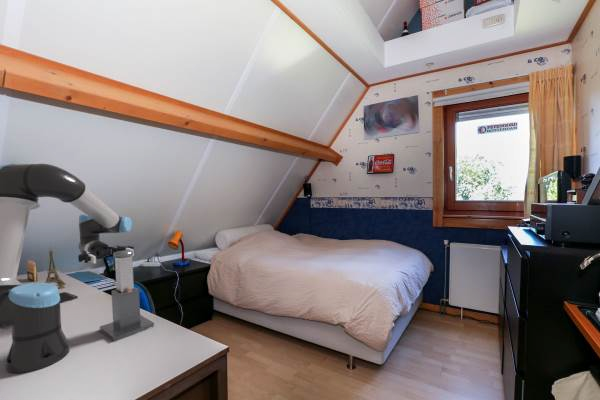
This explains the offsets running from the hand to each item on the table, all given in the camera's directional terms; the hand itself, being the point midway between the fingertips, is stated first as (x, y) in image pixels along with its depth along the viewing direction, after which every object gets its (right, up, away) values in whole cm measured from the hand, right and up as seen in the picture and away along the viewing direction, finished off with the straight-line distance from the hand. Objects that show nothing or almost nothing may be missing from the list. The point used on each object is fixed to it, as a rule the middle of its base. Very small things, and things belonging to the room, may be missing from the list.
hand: (114, 256), depth 119 cm
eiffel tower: (-63, -26, +46) cm, 82 cm away
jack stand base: (+8, -27, -5) cm, 28 cm away
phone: (-44, -27, +29) cm, 60 cm away
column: (+8, -25, -5) cm, 26 cm away
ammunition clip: (-88, -26, +62) cm, 111 cm away
